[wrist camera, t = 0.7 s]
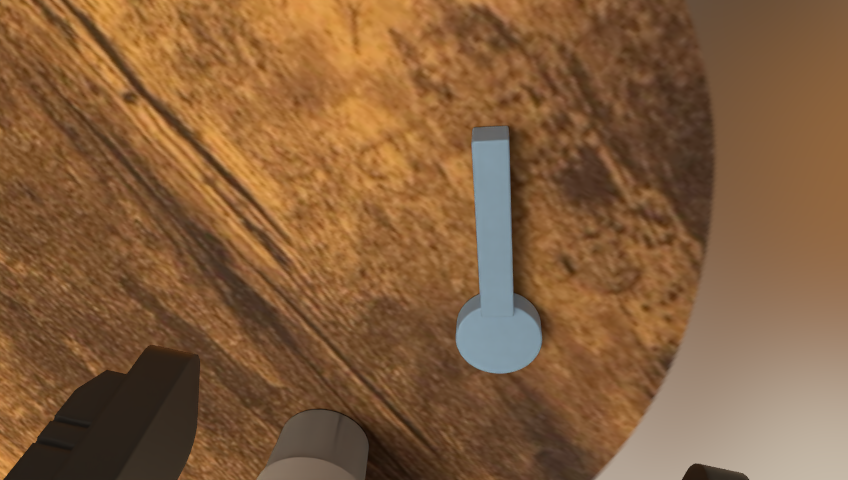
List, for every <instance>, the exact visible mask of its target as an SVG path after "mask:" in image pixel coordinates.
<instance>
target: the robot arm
mask: <svg viewBox="0 0 848 480" xmlns="http://www.w3.org/2000/svg"><path fill="white" fill-rule="evenodd" d="M199 373H200V359H199V356H198V355H196V354H192V353H187V352H183V351H178V350H173V349H169V348H164V347H159V346H155V345H150V346H148V347H147V348H146V349H145V350H144V351H143V353H142V354H141V355H140V357H139V358H138V360H137V361H136V362H135V364H134V365H133V366H132V368H131V369H130V371H129V372H128V373H127V374H123V373H119V372H114V371H109V370H106V371H105V372H103V373H101V374H100V375H98V376H97V377H95V378H93V379H92V380H90V381H89V382H87V383H85V384H84V385H82V386H81V387H79V388H77V389H76V390H75V391H74V392H73V394H72V395H71V396H70V397H69V399H68V400H67V401H66V402H65V404H64V405H63V406H62V407H61V409H60V410H59V411H58V412H57V414H56V415H55V418H54V420H53V421H50V422H49V424H48V425H47V426H46V427H45V429H44V430H43V431H42V432H41V433H40V435H39V436H38V437H37V441H36V443H32V445H31V446H30V447H29V448H28V450H27V451H26V452H25V453H24V455H23V456H22V457H21V458H20V460H19V461H18V462H17V463H16V465H15V466H14V467H13V468H12V470H11V471H10V472H9V473H8V475H7V476H6V477H5V478H4V480H177V479H178V477H179V476H180V474H181V472H182V470H183V468H184V466H185V464H186V462H187V459H188V457H189V454H190V452H191V449H192V446H193V442H194V438H195V434H196V428H197V415H198V394H199ZM682 480H749V479H748V477H747V476H746V475H744V474H743V473H739V472H734V471H729V470H725V469H720V468H716V467H711V466H706V465H702V464H693V465H692V466H690V467H689V469H688V470H687V472H686V474H685V475H684V477H683V479H682Z"/></svg>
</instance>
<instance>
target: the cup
mask: <svg viewBox="0 0 848 480" xmlns="http://www.w3.org/2000/svg"><path fill="white" fill-rule="evenodd" d="M368 451H369V444H368V439H367V437H366V435H365V433H364V432H363V430H362V429H361V427H360V426H359V425H358V424H356V423H355V422H354V421H353V420H351V419H350V418H348V417H346V416H344V415H342V414H340V413H337V412H333V411H328V410H309V411H304V412H301V413H298V414H297V415H295V416H293V417H292V418H291V419H289V420H288V421H287V423H286V424H285V426H284V427H283V430H282V432H281V434H280V436H279V438H278V441H277V443H276V445H275V447H274V449H273V452H272V454H271V456H270V458H269V460H268V462H267V465H266V467H265V469H264V470H263V471H262V472H261V473H260V475H259V476H258V478H257V479H256V480H365V475H366V467H367V459H368Z"/></svg>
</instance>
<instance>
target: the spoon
mask: <svg viewBox="0 0 848 480" xmlns="http://www.w3.org/2000/svg"><path fill="white" fill-rule="evenodd" d="M472 161H473V179H474V197H475V216H476V234H477V252H478V270H479V288H480V294H478V295H476V296H474V297H473V298H471V299H470V300H469V301H468V302H467V303H466V304H465V305H464V306H463V307H462V309H461V310H460V312H459V315H458V318H457V327H456V344H457V348H458V350H459V352H460V354H461V355H462V357H463V358H464V359H465V360H466V361H467V362H468V363H469V364H471V365H472V366H474V367H476V368H478V369H480V370H482V371H486V372H490V373H509V372H513V371H517V370H519V369H522V368H523V367H525V366H527V365H528V364H530V363H531V362H532V361H533V360H534V359H535V357H536V356H537V354H538V353H539V351H540V348H541V345H542V331H541V320H540V316H539V314H538V312H537V310H536V308H535V307H534V306H533V305H532V303H530V302H529V301H528V300H527V299H526V298H524V297H522V296H521V295H519V294H516V293H513V257H512V221H511V184H510V148H509V128H508V126H493V127H475V128H473V130H472Z"/></svg>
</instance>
